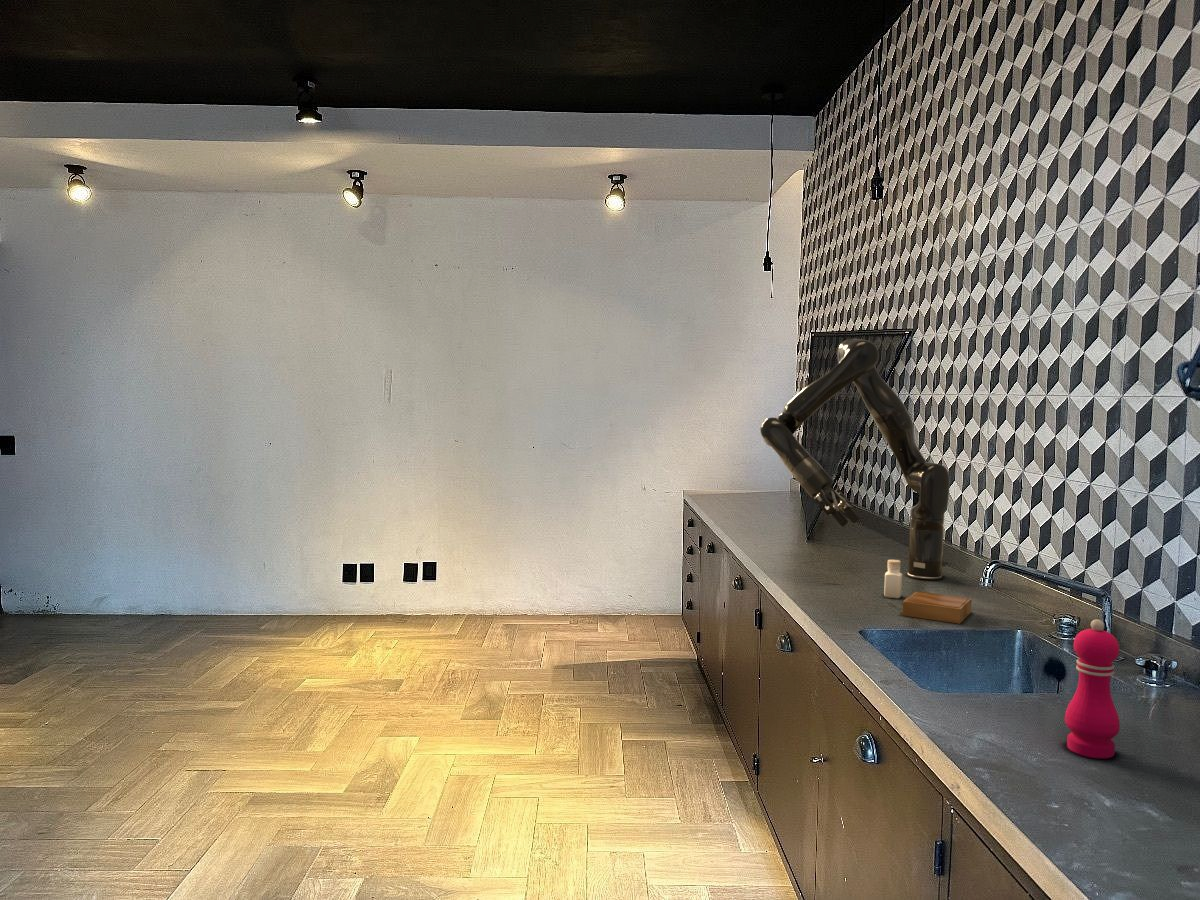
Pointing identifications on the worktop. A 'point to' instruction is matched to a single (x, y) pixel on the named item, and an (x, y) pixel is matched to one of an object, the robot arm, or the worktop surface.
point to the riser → (937, 607)
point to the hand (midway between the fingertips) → (851, 522)
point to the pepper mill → (1093, 695)
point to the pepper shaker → (893, 580)
